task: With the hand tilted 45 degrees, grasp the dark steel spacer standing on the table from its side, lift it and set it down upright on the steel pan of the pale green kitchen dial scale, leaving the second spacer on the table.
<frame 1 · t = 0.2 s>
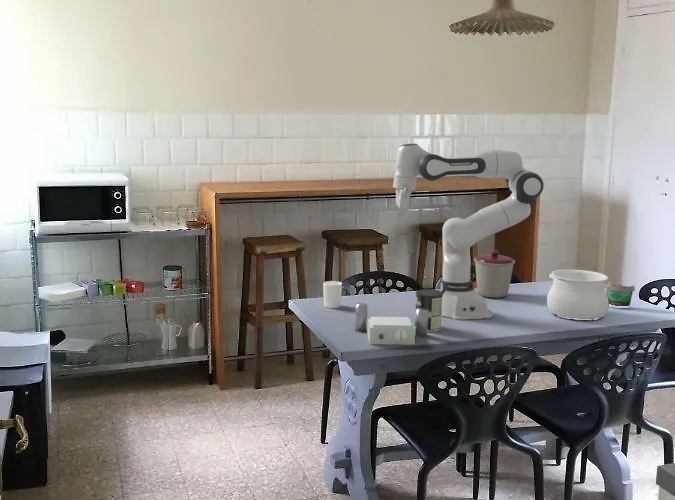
hand: (400, 218, 311), 39 cm above the table, tool pointing down, fingers open, 8 cm apart
food container: (617, 308, 335), on the table
spacer a: (361, 330, 294), on the table
white cup: (332, 306, 328), on the table
pot: (576, 315, 323), on the table
coffee can: (427, 328, 299), on the table
spacer b: (421, 335, 289), on the table
scale: (390, 339, 284), on the table
canister: (492, 296, 352), on the table
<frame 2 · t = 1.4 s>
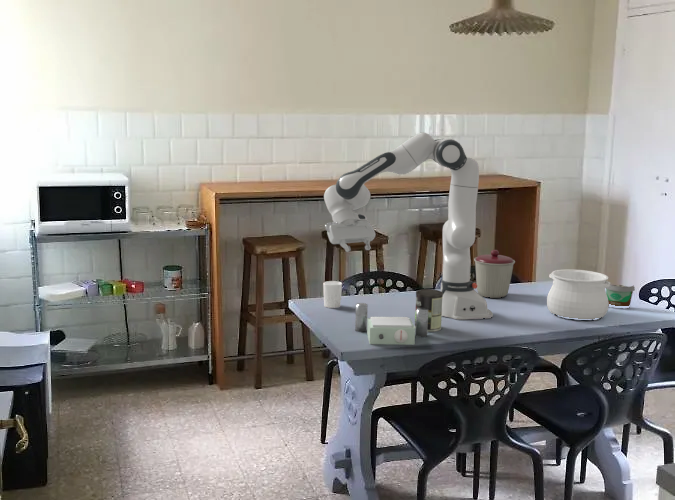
hand: (358, 250, 303), 28 cm above the table, tool tilted 45°, fingers open, 8 cm apart
nothing on the table moved.
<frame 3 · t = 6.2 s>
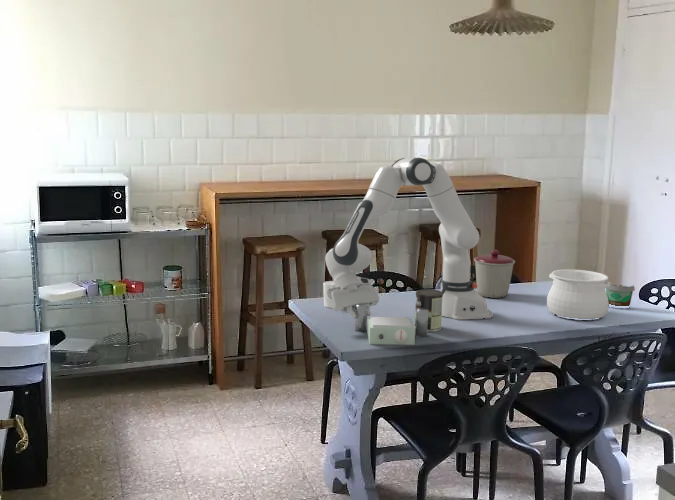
hand: (362, 316, 293), 5 cm above the table, tool tilted 45°, fingers closed on spacer a, 4 cm apart
spacer a: (360, 330, 294), on the table, touching gripper
everything else where it was.
when the fingers open (13 cm above the table, at t = 10.8 s): spacer a stays where it is, resting on scale.
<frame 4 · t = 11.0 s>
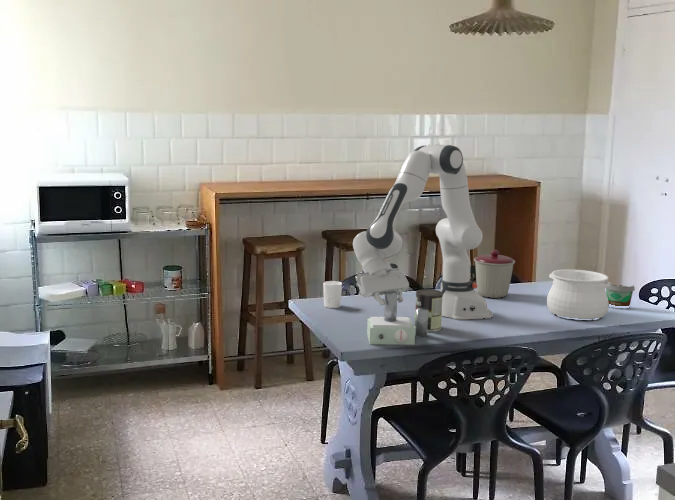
hand: (392, 303, 282), 13 cm above the table, tool tilted 45°, fingers open, 7 cm apart
spacer a: (390, 320, 283), point 7 cm above the table, touching scale
everything else where it was.
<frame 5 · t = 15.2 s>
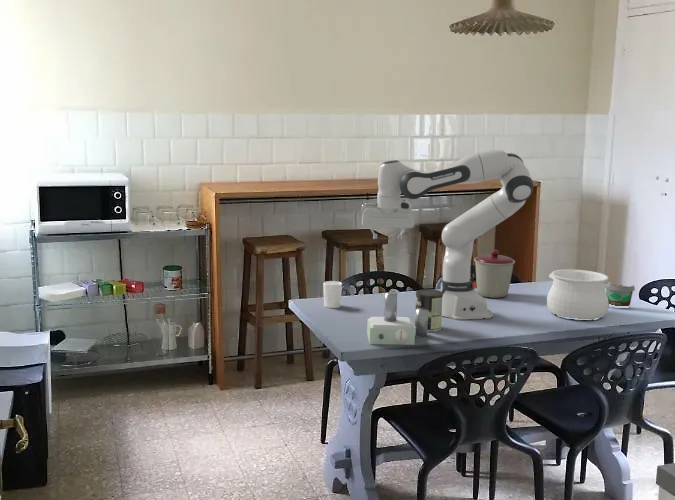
hand: (387, 239, 299), 33 cm above the table, tool pointing down, fingers open, 8 cm apart
nothing on the table moved.
at the end: spacer a inside the target area on the scale (1.0 cm from its centre), point 6.8 cm above the scale's base; spacer a tilted 0°; the gripper is holding nothing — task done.
